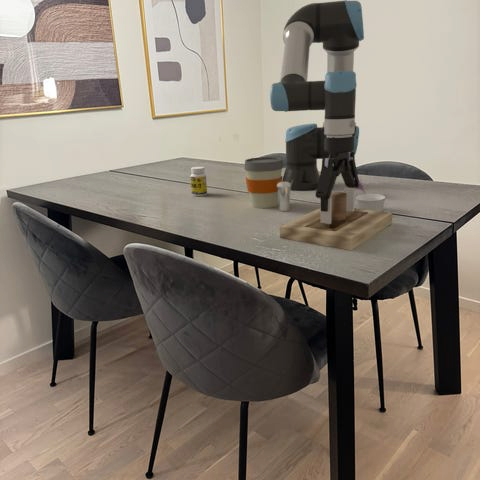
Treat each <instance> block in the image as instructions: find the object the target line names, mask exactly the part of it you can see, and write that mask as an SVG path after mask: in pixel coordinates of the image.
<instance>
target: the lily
mask: <svg viewBox="0 0 480 480" xmlns="http://www.w3.org/2000/svg"><path fill="white" fill-rule="evenodd" d="M354 179H355V178H354ZM358 184H359V186H358V188H357V189H359V190H361V191H362V192H363V194H367V191H366V190H365V189H366V186H365V185H364V183H363V181H362V179H361V178H360V179H359V183H358ZM354 188H355V187H354ZM355 189H356V188H355Z"/></svg>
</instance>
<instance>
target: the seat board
mask: <svg viewBox="0 0 480 480" xmlns="http://www.w3.org/2000/svg"><path fill="white" fill-rule="evenodd" d="M320 209H321V207H320V208H317V209H315V210H313V211H311V212H309V213H307V214H305V215H302V216H300V217H297V218H295V219H294V220H291V221H289V222H287V223H285V224H283V225H279V238H280V239H285V240H290V241H295V242H296V241H297V242H303V243H308V244H314V245H319V246H325V247H326V246H327V247H331V248H337V249H340V250H341V249H342V250H349V251H353V250H354V249H355V248H357V247H359V246H360V245H361V244H363V243H365V242H367V241H369V239H371V238H373V237H374V236H375V235H377V234H379V233H380V232H381V231H383V230H385V229H386V228H387V227H389V226H390V225H392V223H393V212H387V211H382V212H380V211H372V210H363V209H357V208H356V207H354V212H349V211H346V222H345V223H344V224H342V225H340V226H338V227H336V228H334V229H330V228H329V224H326V223H320Z"/></svg>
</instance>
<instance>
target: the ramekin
mask: <svg viewBox="0 0 480 480" xmlns="http://www.w3.org/2000/svg"><path fill="white" fill-rule="evenodd" d="M386 198H387V197H386V196H385V195H383V194H378V193H366V194H365V193H363V194H358V195H356V196H354V199H355V202H356V203H355V204H356V207H355V208H356V209H363V210H372V211H380V212H384V208H385V202H386Z"/></svg>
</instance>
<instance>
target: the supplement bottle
mask: <svg viewBox="0 0 480 480" xmlns="http://www.w3.org/2000/svg"><path fill="white" fill-rule="evenodd" d="M190 170H191V171H190V172H191V174H190V186H191V187H190V188H191V189H190V192H191V196H194V197H203V196H206V195H207V194H208V186H207V185H208V184H207V175H206V173H205V166H192V167H191V168H190Z"/></svg>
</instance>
